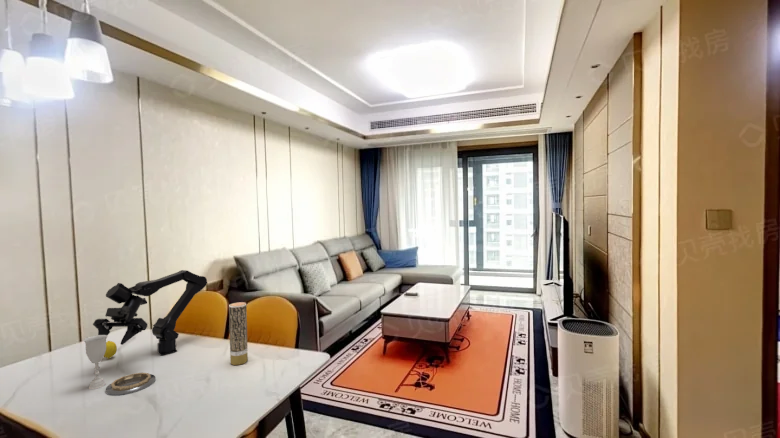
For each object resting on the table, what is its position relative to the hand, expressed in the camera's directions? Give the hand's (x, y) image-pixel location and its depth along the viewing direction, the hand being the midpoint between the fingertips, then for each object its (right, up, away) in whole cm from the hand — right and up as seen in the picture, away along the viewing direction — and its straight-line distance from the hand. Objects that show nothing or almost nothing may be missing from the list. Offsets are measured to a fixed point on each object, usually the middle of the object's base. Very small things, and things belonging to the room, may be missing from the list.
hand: (109, 344), depth 137 cm
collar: (+13, -13, -6) cm, 19 cm away
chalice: (0, -13, -6) cm, 15 cm away
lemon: (-15, -13, +19) cm, 28 cm away
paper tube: (+45, -12, +13) cm, 49 cm away
